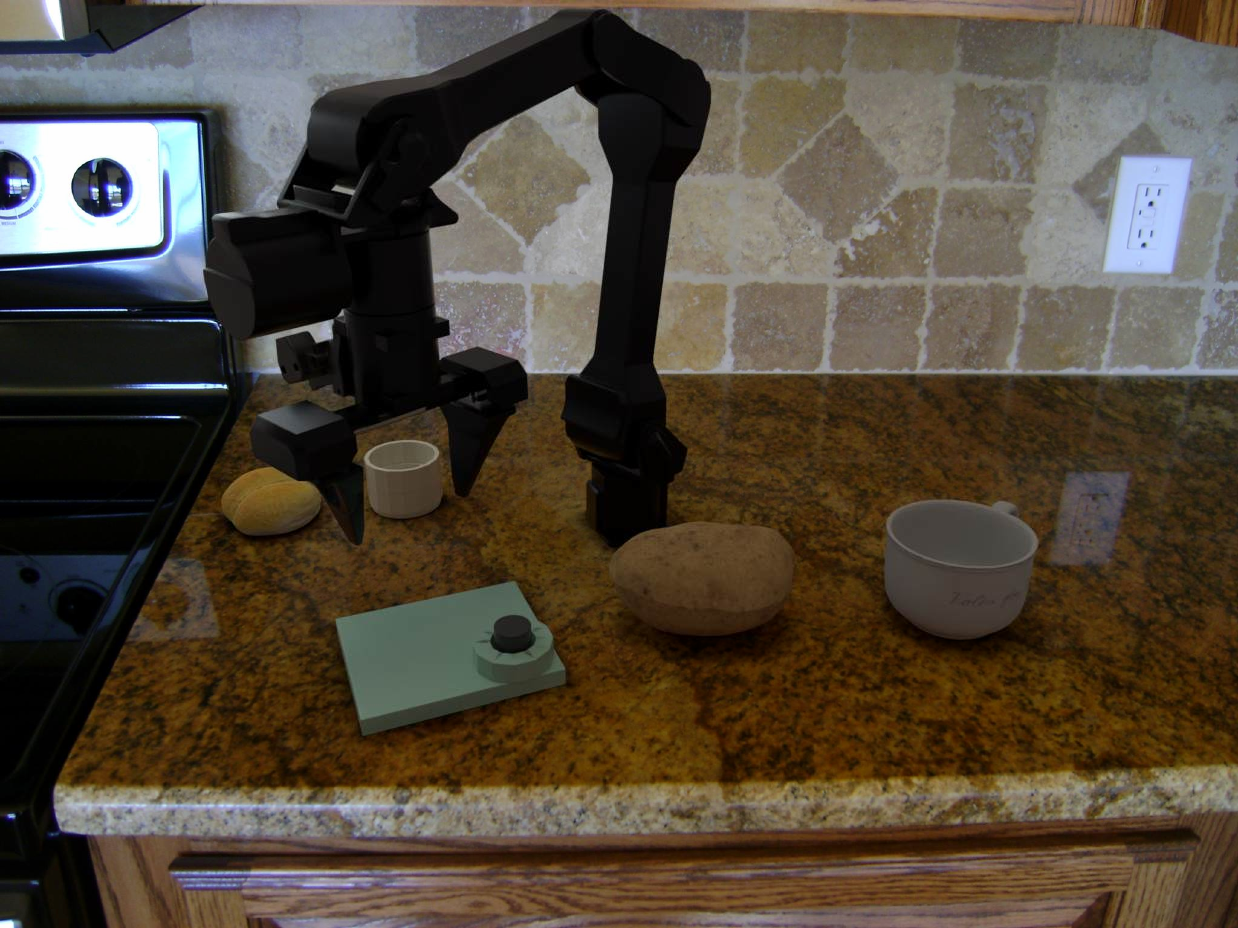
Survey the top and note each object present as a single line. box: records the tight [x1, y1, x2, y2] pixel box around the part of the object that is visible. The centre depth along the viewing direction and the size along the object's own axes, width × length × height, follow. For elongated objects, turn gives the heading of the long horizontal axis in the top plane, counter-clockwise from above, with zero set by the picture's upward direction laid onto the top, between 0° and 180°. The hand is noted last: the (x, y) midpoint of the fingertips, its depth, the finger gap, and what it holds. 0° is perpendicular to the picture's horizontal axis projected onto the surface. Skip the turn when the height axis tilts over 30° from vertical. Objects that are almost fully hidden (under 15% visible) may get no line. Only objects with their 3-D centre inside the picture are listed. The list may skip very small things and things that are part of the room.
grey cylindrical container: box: [363, 439, 444, 520], centre depth 88 cm, size 7×7×5 cm
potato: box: [608, 520, 796, 637], centre depth 70 cm, size 10×14×8 cm
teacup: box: [883, 499, 1039, 641], centre depth 72 cm, size 14×11×8 cm
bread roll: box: [221, 466, 322, 537], centre depth 86 cm, size 8×9×4 cm
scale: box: [335, 580, 567, 737], centre depth 67 cm, size 14×12×3 cm
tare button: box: [493, 615, 532, 654], centre depth 65 cm, size 3×3×2 cm
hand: (411, 518), depth 66 cm, fingers open, 9 cm apart
